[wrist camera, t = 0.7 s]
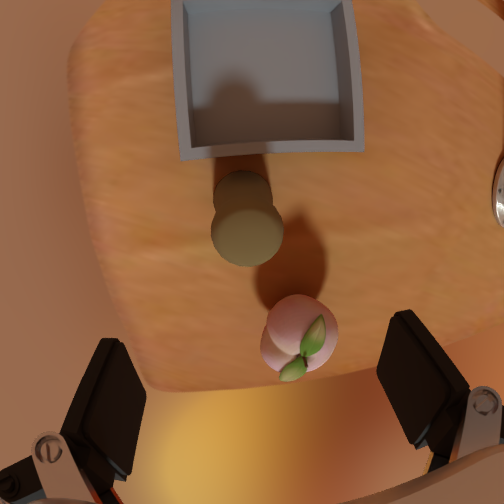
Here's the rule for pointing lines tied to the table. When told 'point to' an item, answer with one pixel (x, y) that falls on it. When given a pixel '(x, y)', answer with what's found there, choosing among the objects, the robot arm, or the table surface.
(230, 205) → the cork
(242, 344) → the table surface
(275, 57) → the box
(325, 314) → the decorative fruit
